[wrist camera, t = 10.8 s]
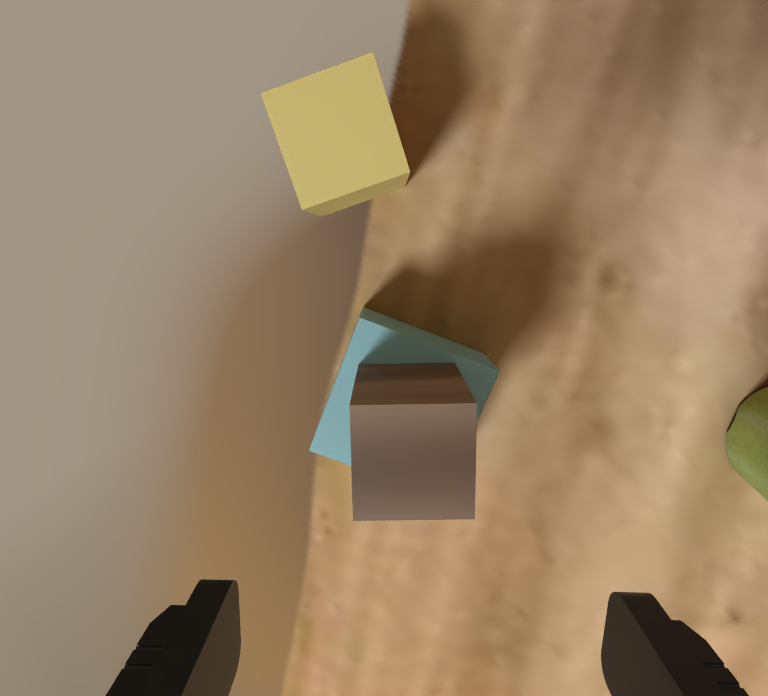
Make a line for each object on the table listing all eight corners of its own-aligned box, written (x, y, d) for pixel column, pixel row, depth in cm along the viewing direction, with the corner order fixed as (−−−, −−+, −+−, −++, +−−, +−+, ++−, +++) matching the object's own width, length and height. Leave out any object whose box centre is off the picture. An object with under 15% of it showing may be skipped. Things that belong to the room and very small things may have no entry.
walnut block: (358, 364, 24) (349, 405, 18) (454, 362, 24) (477, 403, 18) (360, 453, 25) (353, 520, 19) (453, 452, 25) (474, 518, 19)
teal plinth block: (363, 306, 27) (359, 317, 23) (483, 352, 28) (499, 371, 24) (319, 421, 29) (309, 450, 25) (434, 463, 29) (442, 498, 25)
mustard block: (290, 127, 25) (260, 93, 19) (376, 95, 25) (372, 51, 19) (321, 216, 26) (301, 209, 20) (404, 187, 26) (410, 171, 20)
